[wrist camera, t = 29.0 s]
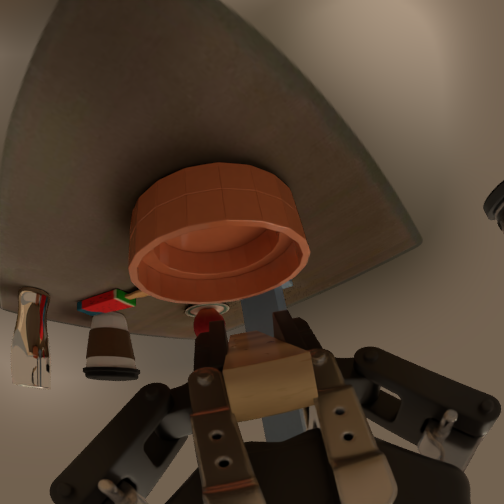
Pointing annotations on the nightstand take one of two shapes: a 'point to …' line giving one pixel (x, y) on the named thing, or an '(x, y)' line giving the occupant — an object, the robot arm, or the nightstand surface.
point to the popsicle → (109, 302)
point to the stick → (267, 376)
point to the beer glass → (31, 340)
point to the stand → (260, 319)
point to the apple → (206, 315)
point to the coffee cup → (110, 349)
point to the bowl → (215, 235)
